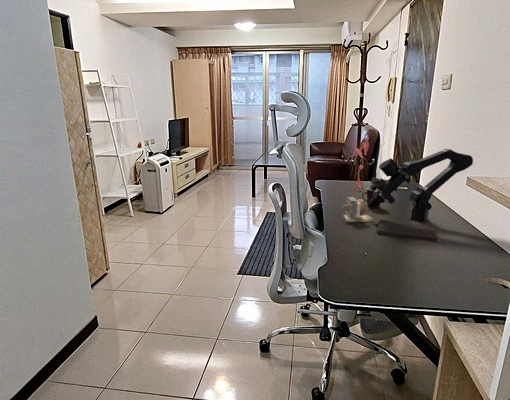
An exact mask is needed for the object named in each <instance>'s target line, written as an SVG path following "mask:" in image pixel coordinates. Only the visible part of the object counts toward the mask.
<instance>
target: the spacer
mask: <svg viewBox="0 0 510 400" xmlns="http://www.w3.org/2000/svg"><path fill="white" fill-rule="evenodd" d="M360 208H361V203H360V202H358V204H357V215H356V218H360Z"/></svg>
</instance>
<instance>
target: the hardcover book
mask: <svg viewBox="0 0 510 400" xmlns="http://www.w3.org/2000/svg"><path fill="white" fill-rule="evenodd" d="M376 235H383V236H388V237H389V236H390V237H396V238H402V239H411V240H412V239H413V240H419V241H426V242H433V243H437V242H438V241H437V240H438V237H437V233H436V228H435V226H434V225H425V224H418V223H410V222H409V223H408V222H401V221H395V220H384V219H379V221H378V225H377V229H376Z"/></svg>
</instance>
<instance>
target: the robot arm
mask: <svg viewBox="0 0 510 400" xmlns="http://www.w3.org/2000/svg"><path fill="white" fill-rule="evenodd" d="M447 159H448V160H449V164H448V165H447V166H446V168H445V169H443V170H442V171H441V172H440V173H438V174H437V175H436V176H435V177H434V178H432V179H431V181H429V182H428V183H427V184H426V185H424V186H422V187H421V186H417V187H415V189H414V190H411V193H410V194H409V201H410V202H411V204H412V206H413V207H412V209H411V214H410V218H409V220H412V221H417V222H420V223H424V222H427V221H430V218H429V212H430V210H432V207H433V204H431V203H430V202H429V201H430V200H431V198H432V196H433V194H434V193H435V192H436V191H437V190H439V188H441V187H442V186H443V185H444V184H446V183H447V182H448V181H449V180H450V179H451V178H453V176H455V175H456V174H457V173H460V172H464V171H466V170H468V168H470V167H471V166H472V165H473V164H474V158H473V156H472V155H469V154H465V153H459V152H456V151H454V150H453V149H449V148H444V149H441V150H440V151H438V152H435V153H433V154H430V155H428V156H425V157H422V158H421V159H414V160H409V161H408V160H407V161H405V162H403V163H402V164H401V163H400V164H397V163H396V162H395V161H394V159H393V158H391V157H390V158H389V159H386V160H385V161H383V162H381V164H379V167H378V168H379V169H380V170H381V171H382V172H383V174H384V175H385V176H386V177H389V178H388V179H384V178H377V177H375V176H373V177H372V178H371V181H370V183H371V185H370V188H371V189H372V190H373V196H372V198H371V200H370V202H369V203H368V206H369V207H370V206H373V205H376V204H380V205H381V204H383V203H387V202H388V203H389V204H390V205H393V204H394V203H395V201H396V199H395V198H394V196H393V195H392V193H394V192H397V191H398V188H399V187H400V186H401V185H403V184H404V183H406V184H410V179H411V178H410V177H413V176H415V175H417V174H418V173H421V171H422V170H424V169H425V168H428V167H430V166H433V165H436V164H437V163H438V164H439V163H441V162H442V161H445V160H447ZM406 175H407V176H406ZM409 176H410V177H409ZM386 200H387V202H386ZM369 207H368V208H369Z"/></svg>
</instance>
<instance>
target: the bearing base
mask: <svg viewBox="0 0 510 400" xmlns="http://www.w3.org/2000/svg"><path fill="white" fill-rule="evenodd" d="M357 200H358V199H356V198H355V197H354V196H353V197H352V196H351V197H350V196H349V197H348V196H347V197H346V205H350V210H345V214H343V215H342V218H343V219H344V220H345V222H348V223H349V222H350V223H351V222H352V223H353V222H355V223H357V222H359V223H373V222H374V219H373V218H372V217H371V216H370V215H368V214H364V215H363V216H360V218H356V215H357V204H358V201H357Z"/></svg>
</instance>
